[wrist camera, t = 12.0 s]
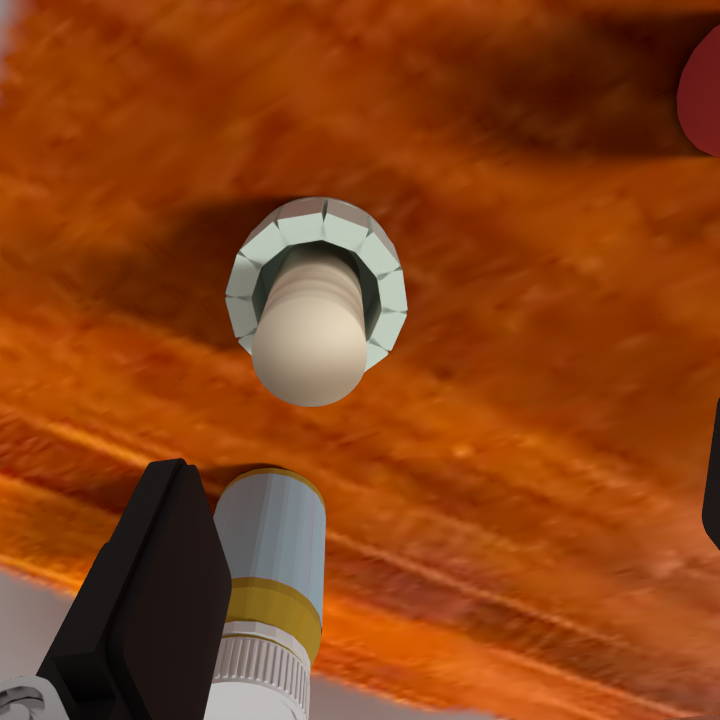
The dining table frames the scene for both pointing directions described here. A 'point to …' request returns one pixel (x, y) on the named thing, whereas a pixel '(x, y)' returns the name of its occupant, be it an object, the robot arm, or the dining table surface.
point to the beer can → (702, 95)
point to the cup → (337, 227)
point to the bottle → (269, 596)
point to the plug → (312, 327)
